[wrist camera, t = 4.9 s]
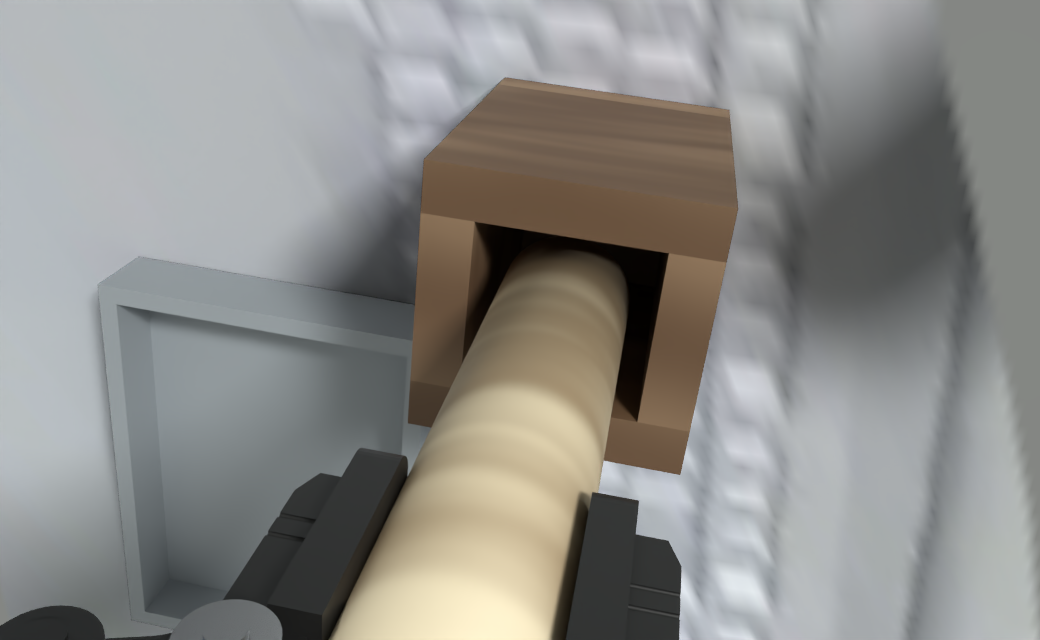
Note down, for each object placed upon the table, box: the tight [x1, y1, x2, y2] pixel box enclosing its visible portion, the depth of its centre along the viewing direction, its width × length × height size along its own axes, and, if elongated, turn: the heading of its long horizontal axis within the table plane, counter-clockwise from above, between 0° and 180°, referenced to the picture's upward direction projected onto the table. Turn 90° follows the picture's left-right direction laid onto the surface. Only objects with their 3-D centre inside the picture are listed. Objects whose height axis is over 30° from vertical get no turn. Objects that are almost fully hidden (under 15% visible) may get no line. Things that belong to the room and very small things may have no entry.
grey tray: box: [98, 257, 431, 629], centre depth 34 cm, size 14×11×2 cm
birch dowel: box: [329, 236, 630, 640], centre depth 16 cm, size 3×3×14 cm
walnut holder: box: [408, 78, 738, 475], centre depth 25 cm, size 7×7×9 cm
